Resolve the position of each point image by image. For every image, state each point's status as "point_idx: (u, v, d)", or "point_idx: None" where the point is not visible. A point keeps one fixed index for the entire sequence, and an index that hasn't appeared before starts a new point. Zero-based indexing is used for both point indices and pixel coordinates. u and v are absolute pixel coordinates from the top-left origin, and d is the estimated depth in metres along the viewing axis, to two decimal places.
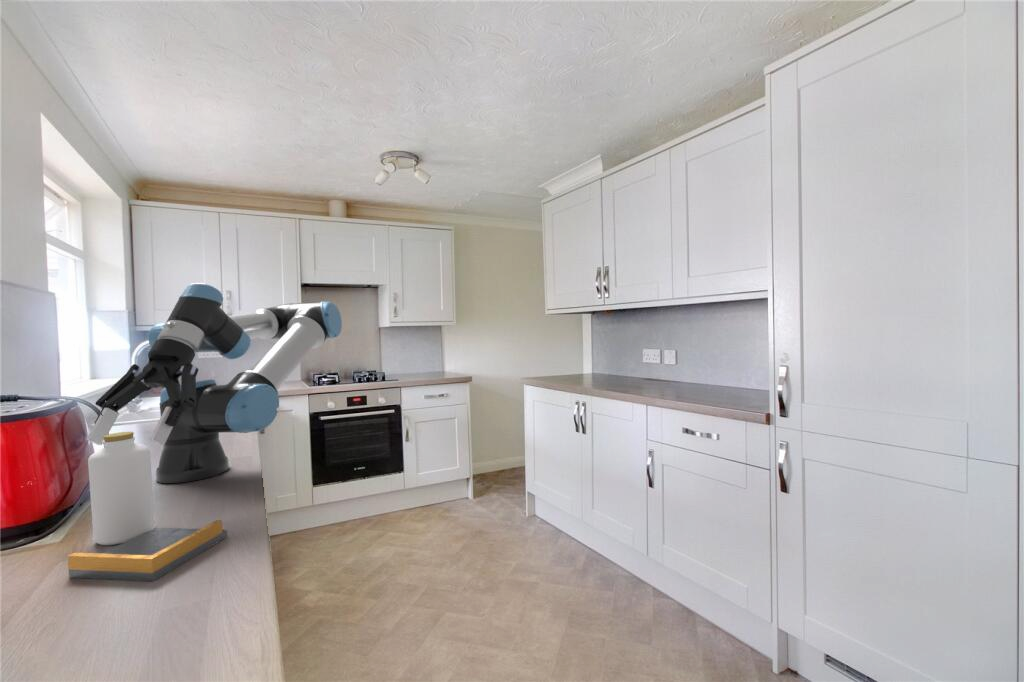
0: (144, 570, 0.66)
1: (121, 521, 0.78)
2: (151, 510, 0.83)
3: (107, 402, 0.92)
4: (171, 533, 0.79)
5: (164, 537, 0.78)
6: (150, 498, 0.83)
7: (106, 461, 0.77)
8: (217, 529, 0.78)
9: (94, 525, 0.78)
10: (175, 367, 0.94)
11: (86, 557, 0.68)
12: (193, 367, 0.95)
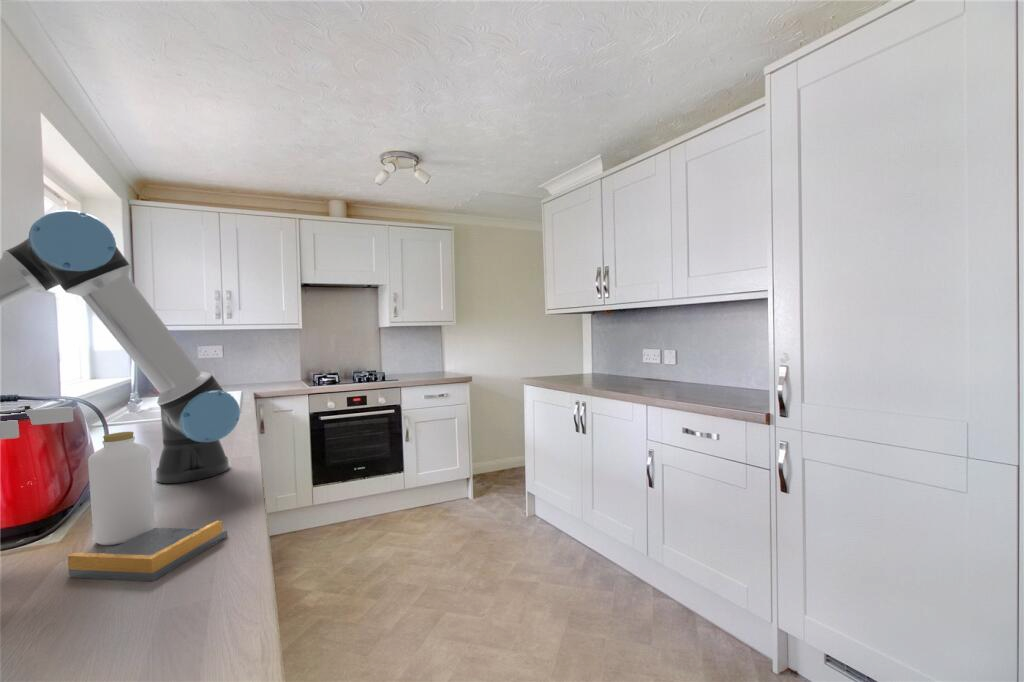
0: (144, 570, 0.66)
1: (121, 521, 0.78)
2: (151, 510, 0.83)
3: None
4: (171, 533, 0.79)
5: (164, 537, 0.78)
6: (150, 498, 0.83)
7: (106, 461, 0.77)
8: (217, 529, 0.78)
9: (94, 525, 0.78)
10: None
11: (86, 557, 0.68)
12: None
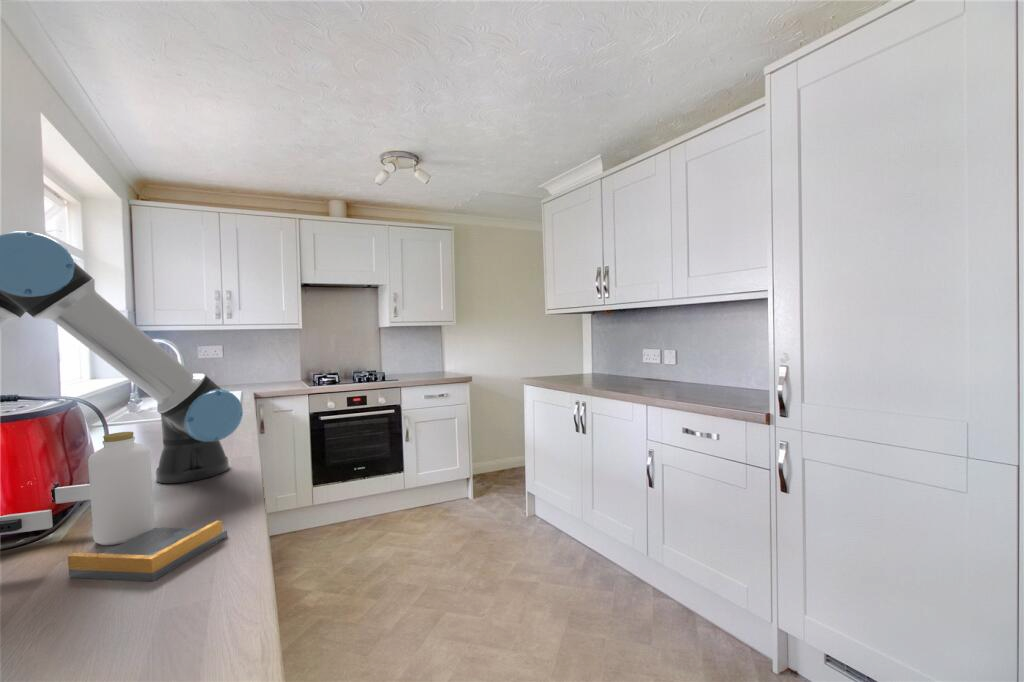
0: (144, 570, 0.66)
1: (121, 521, 0.78)
2: (151, 510, 0.83)
3: None
4: (171, 533, 0.79)
5: (164, 537, 0.78)
6: (150, 498, 0.83)
7: (106, 461, 0.77)
8: (217, 529, 0.78)
9: (94, 525, 0.78)
10: None
11: (86, 557, 0.68)
12: None
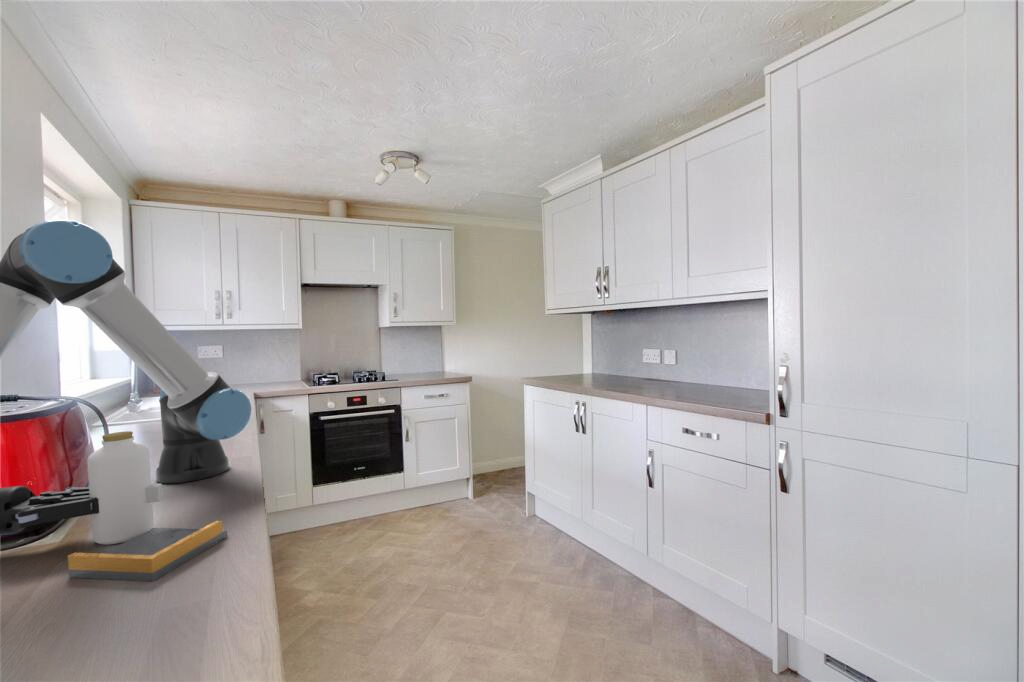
0: (144, 570, 0.66)
1: (117, 521, 0.78)
2: (149, 510, 0.83)
3: None
4: (171, 533, 0.79)
5: (164, 537, 0.78)
6: None
7: (102, 461, 0.78)
8: (217, 529, 0.78)
9: (92, 524, 0.79)
10: None
11: (86, 557, 0.68)
12: (25, 520, 0.73)
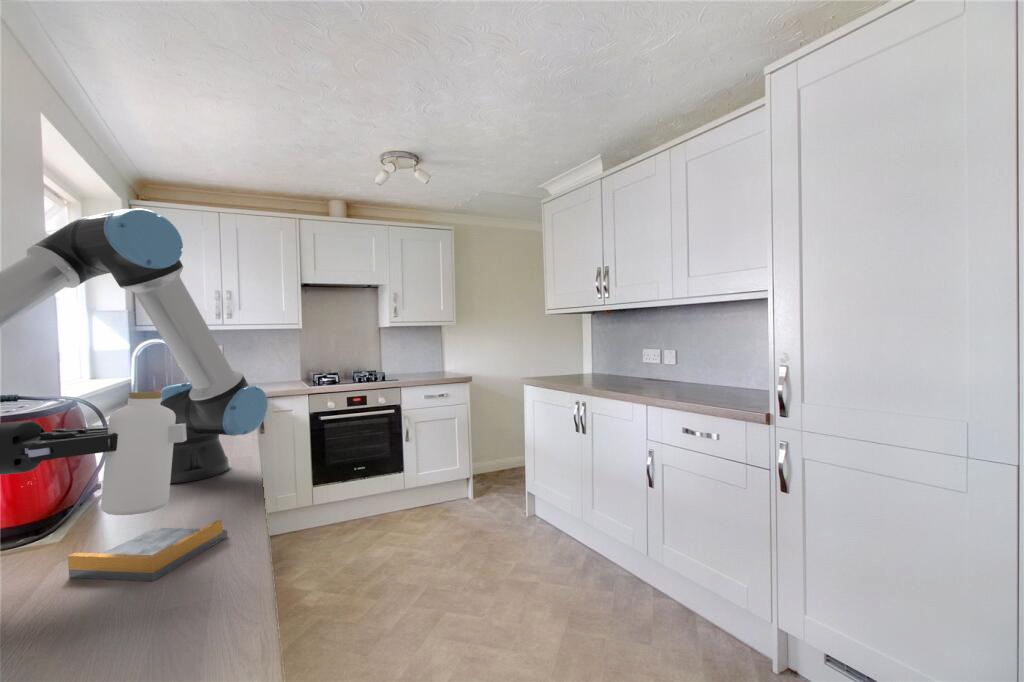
0: (144, 570, 0.66)
1: (130, 489, 0.69)
2: (166, 483, 0.74)
3: None
4: (171, 533, 0.79)
5: (164, 537, 0.78)
6: (167, 469, 0.74)
7: (126, 418, 0.70)
8: (217, 529, 0.78)
9: (103, 490, 0.70)
10: None
11: (86, 557, 0.68)
12: (35, 454, 0.65)
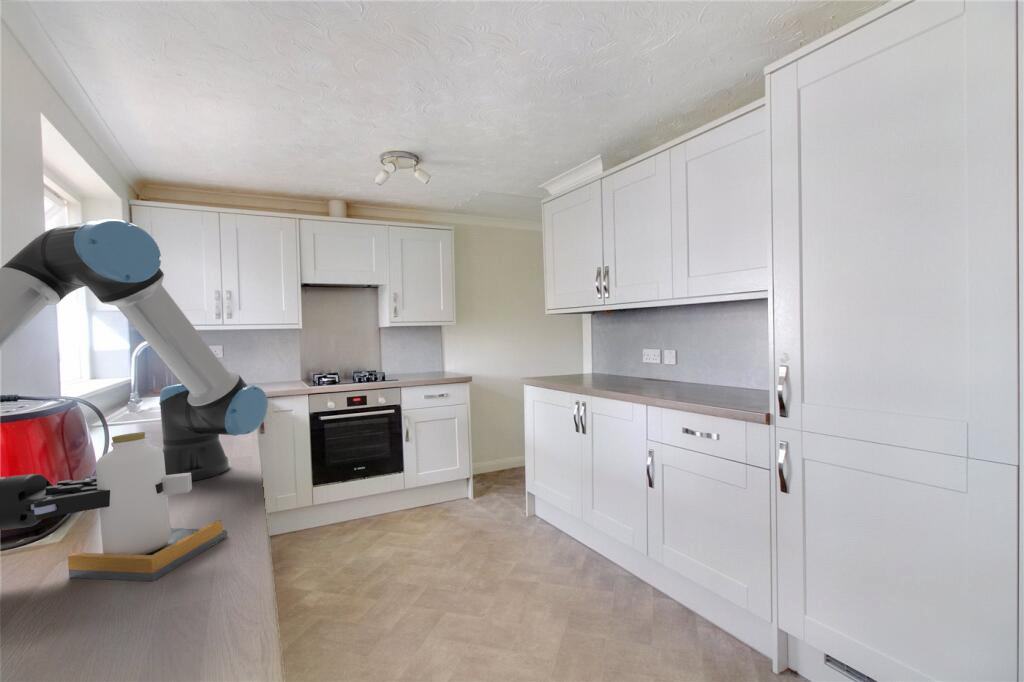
0: (144, 570, 0.66)
1: (130, 532, 0.69)
2: (165, 520, 0.73)
3: None
4: (171, 533, 0.79)
5: None
6: (164, 507, 0.73)
7: (112, 464, 0.69)
8: (217, 529, 0.78)
9: (102, 537, 0.69)
10: None
11: (86, 557, 0.68)
12: (41, 511, 0.65)
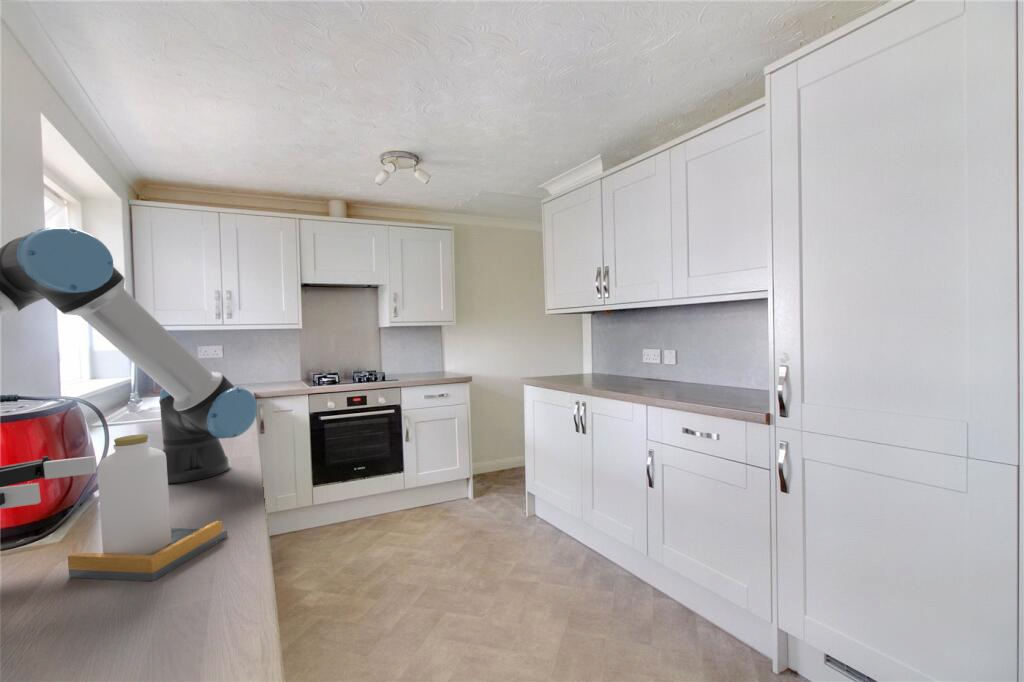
0: (144, 570, 0.66)
1: (130, 537, 0.69)
2: (166, 524, 0.73)
3: None
4: (171, 533, 0.79)
5: None
6: (165, 510, 0.73)
7: (114, 468, 0.68)
8: (217, 529, 0.78)
9: (103, 539, 0.69)
10: None
11: (86, 557, 0.68)
12: None
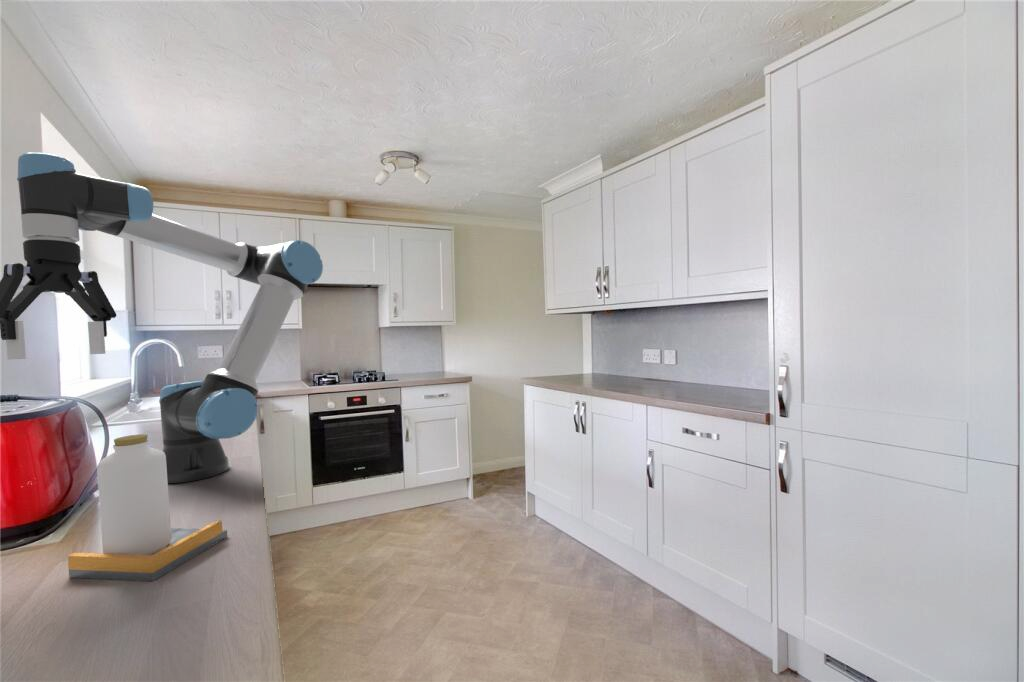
0: (144, 570, 0.66)
1: (130, 537, 0.69)
2: (166, 524, 0.73)
3: None
4: (171, 533, 0.79)
5: None
6: (164, 510, 0.73)
7: (113, 468, 0.68)
8: (217, 529, 0.78)
9: (103, 540, 0.69)
10: None
11: (86, 557, 0.68)
12: (9, 266, 0.80)
